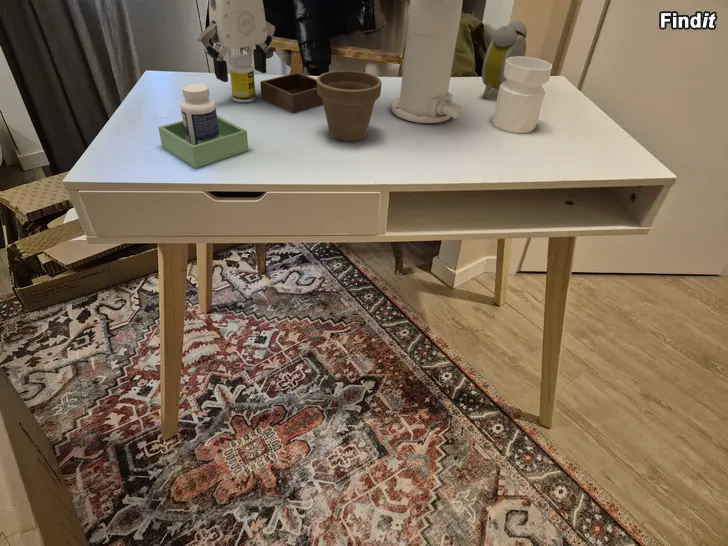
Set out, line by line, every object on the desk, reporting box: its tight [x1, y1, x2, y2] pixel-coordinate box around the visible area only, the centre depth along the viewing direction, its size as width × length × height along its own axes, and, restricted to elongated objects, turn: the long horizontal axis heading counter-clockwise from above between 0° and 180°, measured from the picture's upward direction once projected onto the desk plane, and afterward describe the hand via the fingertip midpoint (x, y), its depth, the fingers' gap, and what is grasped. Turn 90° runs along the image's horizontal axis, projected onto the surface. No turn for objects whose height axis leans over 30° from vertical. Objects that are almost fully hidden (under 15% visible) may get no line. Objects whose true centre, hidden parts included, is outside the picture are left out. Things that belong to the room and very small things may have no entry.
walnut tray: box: [259, 71, 323, 114], centre depth 104 cm, size 10×10×4 cm
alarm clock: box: [481, 20, 528, 99], centre depth 110 cm, size 12×7×15 cm, turn 144°
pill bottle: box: [180, 83, 220, 146], centre depth 81 cm, size 5×5×10 cm
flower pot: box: [316, 69, 382, 142], centre depth 90 cm, size 12×11×10 cm
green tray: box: [158, 115, 249, 169], centre depth 84 cm, size 10×10×4 cm
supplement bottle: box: [229, 53, 256, 103], centre depth 101 cm, size 5×5×8 cm
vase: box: [491, 56, 553, 134], centre depth 98 cm, size 9×9×12 cm
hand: (241, 75), depth 101 cm, fingers open, 8 cm apart
